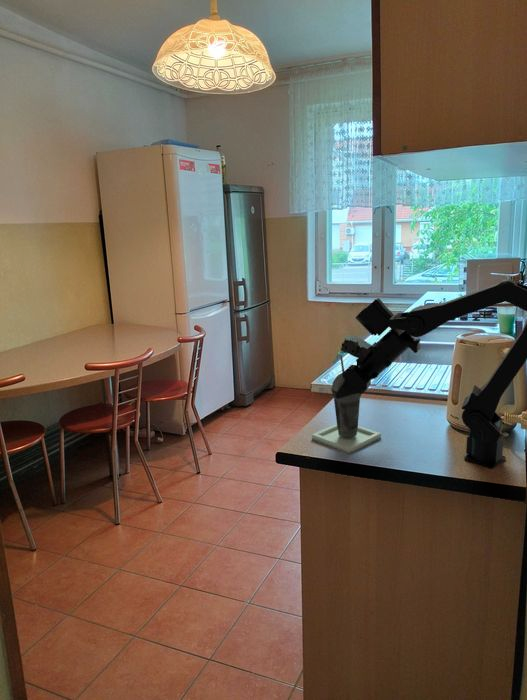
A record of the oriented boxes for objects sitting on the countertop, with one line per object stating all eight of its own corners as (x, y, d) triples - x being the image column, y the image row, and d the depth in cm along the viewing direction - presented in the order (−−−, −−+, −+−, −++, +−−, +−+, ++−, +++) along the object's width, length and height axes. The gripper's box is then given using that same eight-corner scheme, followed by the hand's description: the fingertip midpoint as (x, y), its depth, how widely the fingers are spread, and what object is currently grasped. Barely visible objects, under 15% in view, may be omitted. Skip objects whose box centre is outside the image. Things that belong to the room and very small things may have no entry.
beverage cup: (366, 438, 125) (365, 357, 120) (337, 441, 125) (334, 360, 120) (357, 426, 132) (356, 349, 127) (329, 429, 132) (327, 352, 127)
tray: (380, 438, 128) (380, 433, 128) (349, 453, 121) (349, 448, 120) (343, 425, 137) (343, 420, 137) (312, 439, 129) (311, 434, 129)
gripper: (372, 317, 128) (330, 357, 136) (350, 333, 112) (303, 378, 119) (405, 350, 127) (360, 389, 134) (387, 371, 110) (337, 415, 118)
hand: (341, 392), depth 126 cm, fingers closed on beverage cup, 7 cm apart
